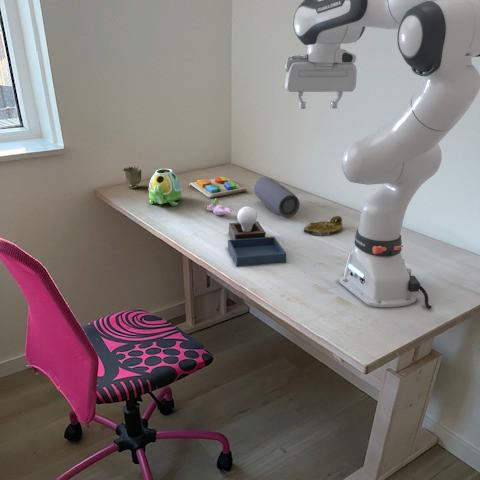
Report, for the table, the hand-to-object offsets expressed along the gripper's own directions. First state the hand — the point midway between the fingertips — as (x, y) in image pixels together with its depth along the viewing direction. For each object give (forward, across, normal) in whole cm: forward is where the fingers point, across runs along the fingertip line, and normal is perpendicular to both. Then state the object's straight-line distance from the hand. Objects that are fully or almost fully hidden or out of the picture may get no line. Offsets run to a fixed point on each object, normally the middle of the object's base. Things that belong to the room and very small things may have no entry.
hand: (317, 108), depth 147 cm
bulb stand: (+41, -20, +2) cm, 45 cm away
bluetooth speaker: (+41, -4, +28) cm, 49 cm away
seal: (+41, +8, +6) cm, 42 cm away
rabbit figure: (+41, -26, +25) cm, 55 cm away
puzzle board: (+41, -22, +54) cm, 72 cm away
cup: (+41, -57, +61) cm, 93 cm away
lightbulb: (+41, -20, +2) cm, 45 cm away
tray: (+40, -19, -11) cm, 46 cm away
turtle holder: (+41, -45, +40) cm, 73 cm away
